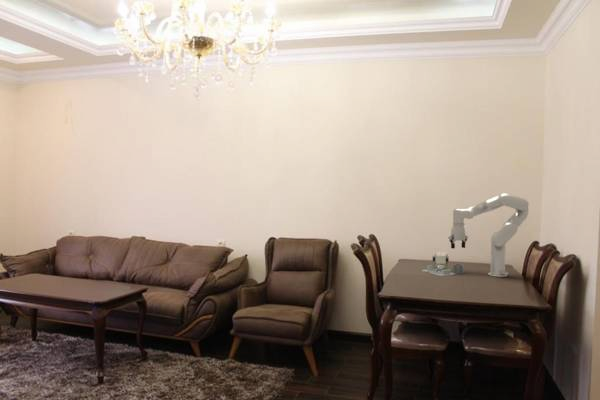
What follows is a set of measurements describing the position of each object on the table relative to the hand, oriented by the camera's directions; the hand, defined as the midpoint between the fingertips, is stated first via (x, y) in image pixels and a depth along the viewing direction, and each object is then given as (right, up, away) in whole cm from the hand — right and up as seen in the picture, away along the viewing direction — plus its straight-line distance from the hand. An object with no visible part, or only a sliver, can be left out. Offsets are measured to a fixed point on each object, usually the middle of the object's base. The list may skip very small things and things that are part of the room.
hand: (458, 248), depth 344 cm
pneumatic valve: (-9, -18, +16) cm, 26 cm away
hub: (0, -18, 0) cm, 18 cm away
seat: (-15, -18, -2) cm, 24 cm away
